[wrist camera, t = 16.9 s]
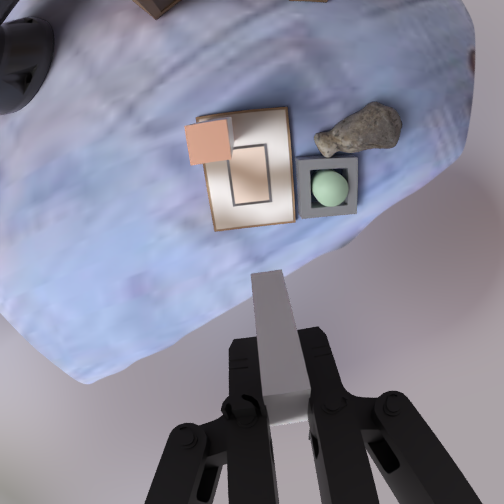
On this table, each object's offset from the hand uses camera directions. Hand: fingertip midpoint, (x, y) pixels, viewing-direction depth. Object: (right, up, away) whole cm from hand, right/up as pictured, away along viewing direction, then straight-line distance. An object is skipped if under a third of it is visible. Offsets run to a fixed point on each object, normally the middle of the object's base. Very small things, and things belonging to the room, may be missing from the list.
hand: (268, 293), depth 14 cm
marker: (-4, +15, +14) cm, 21 cm away
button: (+8, +11, +19) cm, 23 cm away
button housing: (+8, +10, +18) cm, 22 cm away
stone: (+11, +16, +15) cm, 25 cm away
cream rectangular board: (-1, +12, +17) cm, 20 cm away
